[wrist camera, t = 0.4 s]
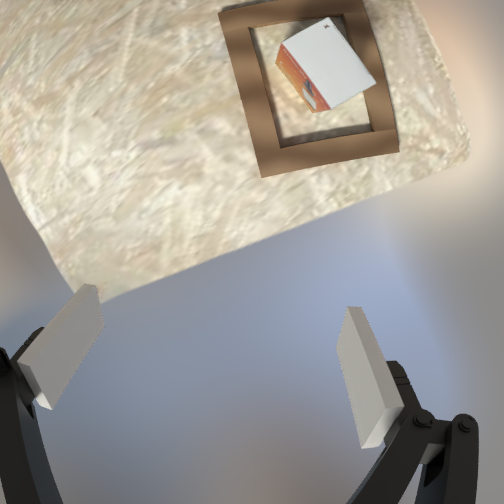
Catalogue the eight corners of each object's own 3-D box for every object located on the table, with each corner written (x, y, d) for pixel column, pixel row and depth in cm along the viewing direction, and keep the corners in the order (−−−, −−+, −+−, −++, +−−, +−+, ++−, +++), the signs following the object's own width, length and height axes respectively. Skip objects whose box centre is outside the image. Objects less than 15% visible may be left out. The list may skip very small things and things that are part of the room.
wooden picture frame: (218, 16, 30) (217, 13, 29) (356, -4, 27) (358, -7, 26) (261, 176, 38) (261, 178, 37) (396, 151, 36) (399, 152, 35)
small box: (274, 63, 32) (278, 40, 23) (311, 41, 31) (328, 14, 21) (312, 114, 35) (330, 111, 25) (348, 93, 33) (378, 83, 24)
